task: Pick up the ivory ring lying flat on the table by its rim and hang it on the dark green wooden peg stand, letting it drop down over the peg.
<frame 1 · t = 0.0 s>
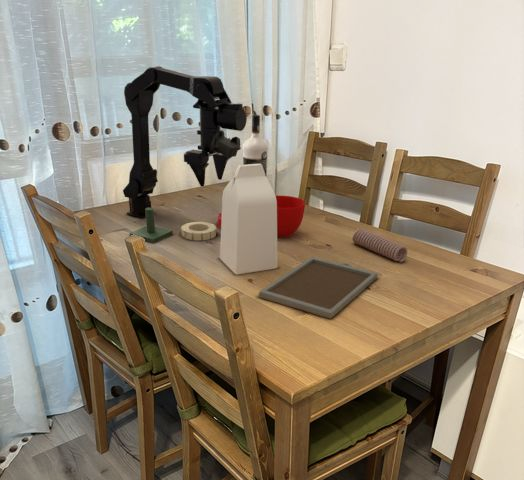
hand: (211, 182, 164), 15 cm above the table, tool pointing down, fingers open, 9 cm apart
grey picture frame: (322, 286, 140), on the table
ceramic cup: (278, 232, 173), on the table
decorative ornament: (233, 225, 177), on the table
vodka: (253, 207, 193), on the table
milk: (248, 264, 151), on the table
ring: (199, 234, 168), on the table
coil: (377, 253, 161), on the table
peg stand: (151, 235, 166), on the table
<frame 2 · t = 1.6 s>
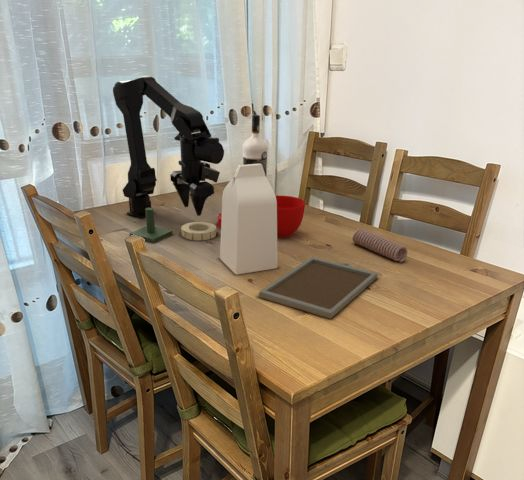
hand: (192, 211, 168), 6 cm above the table, tool pointing down, fingers open, 9 cm apart
nothing on the table moved.
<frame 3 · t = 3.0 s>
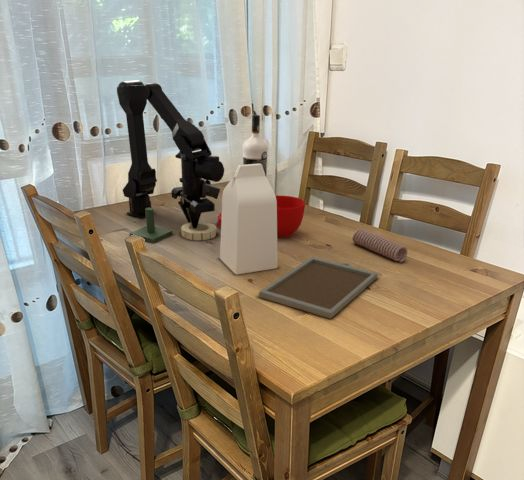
hand: (193, 227, 171), 1 cm above the table, tool pointing down, fingers closed on ring, 2 cm apart
ring: (198, 234, 168), on the table, touching gripper
everything else where it was.
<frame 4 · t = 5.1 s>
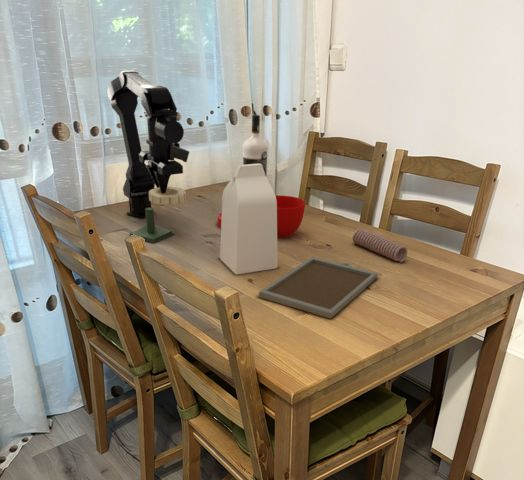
hand: (162, 192, 164), 12 cm above the table, tool pointing down, fingers closed on ring, 2 cm apart
ring: (167, 199, 161), point 11 cm above the table, touching gripper
everything else where it was.
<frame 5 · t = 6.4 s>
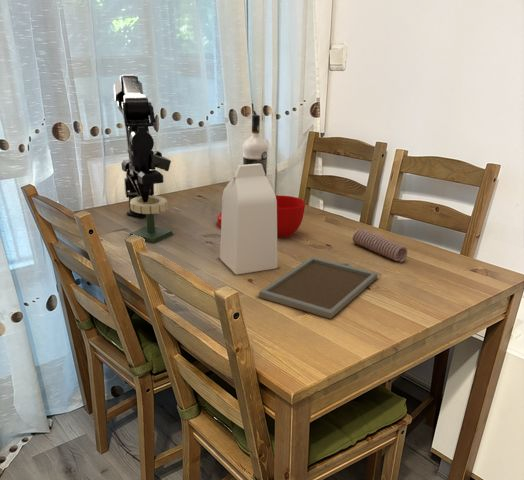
hand: (144, 200, 164), 9 cm above the table, tool pointing down, fingers closed on ring, 2 cm apart
ring: (149, 208, 162), point 8 cm above the table, touching gripper
everything else where it was.
when the fingers open (6 cm above the table, at t = 7.6 s): ring drops 4 cm, resting on peg stand.
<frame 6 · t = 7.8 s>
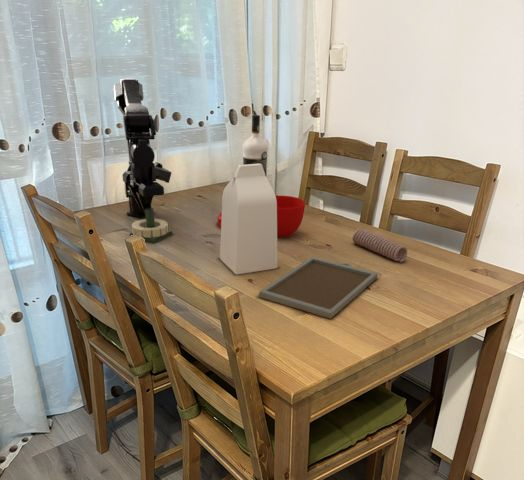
hand: (144, 211, 166), 6 cm above the table, tool pointing down, fingers open, 3 cm apart
ring: (150, 231, 166), point 1 cm above the table, touching peg stand
everything else where it was.
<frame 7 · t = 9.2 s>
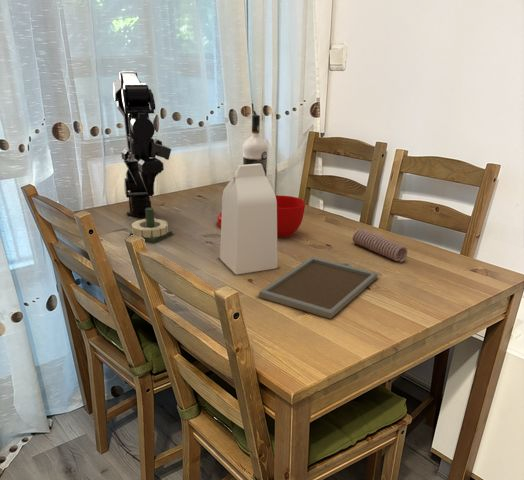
hand: (144, 189, 163), 13 cm above the table, tool pointing down, fingers open, 9 cm apart
nothing on the table moved.
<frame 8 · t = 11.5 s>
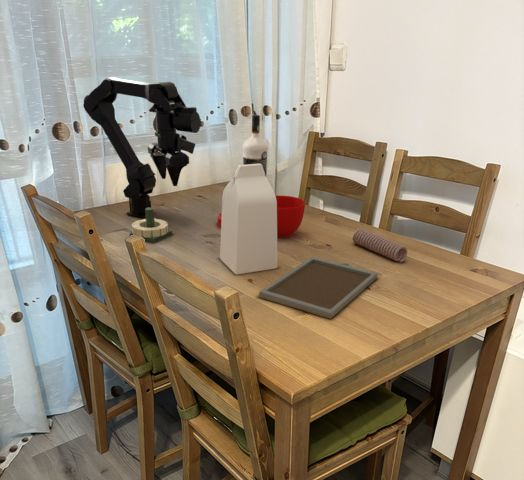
hand: (169, 182, 173), 12 cm above the table, tool pointing down, fingers open, 9 cm apart
nothing on the table moved.
at the end: ring 0.4 cm from the peg stand (horizontally); ring point 1.2 cm above the table; the gripper is holding nothing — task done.
